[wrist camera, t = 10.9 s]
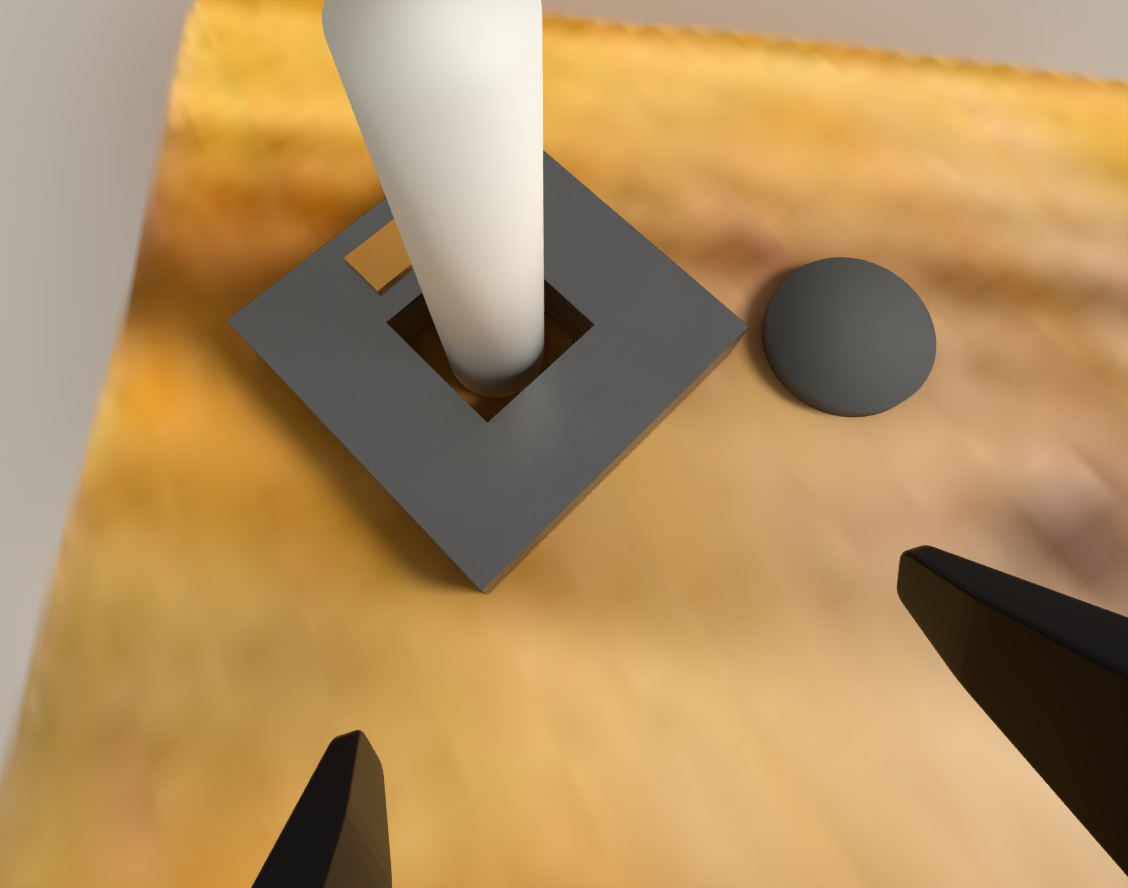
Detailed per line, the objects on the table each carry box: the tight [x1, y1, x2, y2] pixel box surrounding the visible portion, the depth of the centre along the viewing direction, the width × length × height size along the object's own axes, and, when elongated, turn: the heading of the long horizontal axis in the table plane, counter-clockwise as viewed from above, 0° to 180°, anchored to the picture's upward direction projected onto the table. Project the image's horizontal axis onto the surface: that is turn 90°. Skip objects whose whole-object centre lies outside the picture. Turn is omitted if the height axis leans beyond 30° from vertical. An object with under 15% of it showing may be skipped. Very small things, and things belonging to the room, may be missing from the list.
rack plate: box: [227, 150, 749, 594], centre depth 24 cm, size 14×14×3 cm
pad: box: [762, 257, 936, 417], centre depth 26 cm, size 7×7×1 cm
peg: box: [322, 0, 544, 397], centre depth 18 cm, size 4×4×15 cm
